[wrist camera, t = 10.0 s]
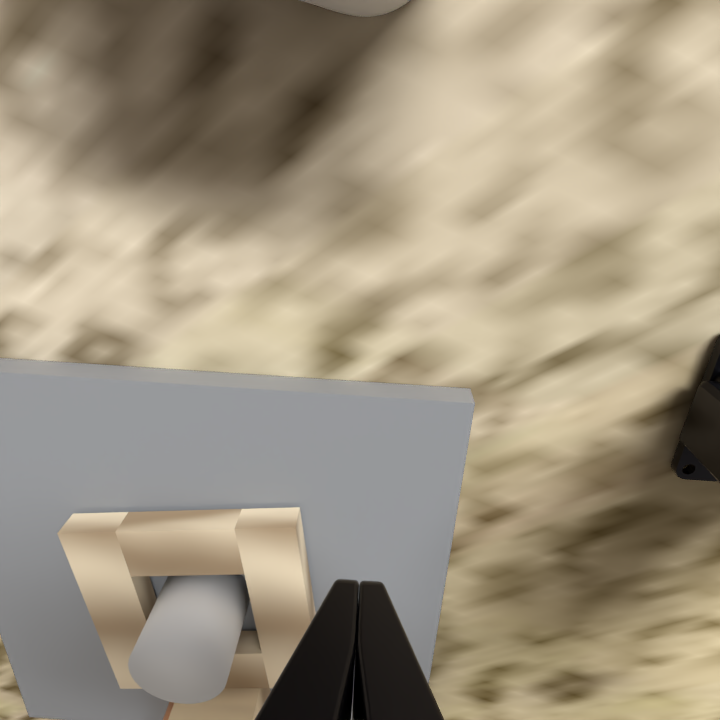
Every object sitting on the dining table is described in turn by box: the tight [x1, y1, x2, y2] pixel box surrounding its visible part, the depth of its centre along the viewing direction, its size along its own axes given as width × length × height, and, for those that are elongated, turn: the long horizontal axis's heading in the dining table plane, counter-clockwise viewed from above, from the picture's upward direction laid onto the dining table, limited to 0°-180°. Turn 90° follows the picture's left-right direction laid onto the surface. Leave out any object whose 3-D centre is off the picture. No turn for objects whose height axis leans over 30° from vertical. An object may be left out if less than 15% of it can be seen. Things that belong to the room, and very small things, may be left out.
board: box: [0, 358, 475, 720], centre depth 23 cm, size 22×22×5 cm
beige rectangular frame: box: [57, 507, 316, 720], centre depth 24 cm, size 16×10×4 cm, turn 4°
